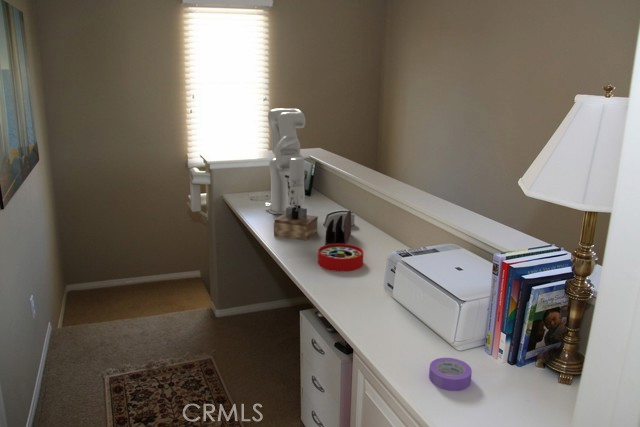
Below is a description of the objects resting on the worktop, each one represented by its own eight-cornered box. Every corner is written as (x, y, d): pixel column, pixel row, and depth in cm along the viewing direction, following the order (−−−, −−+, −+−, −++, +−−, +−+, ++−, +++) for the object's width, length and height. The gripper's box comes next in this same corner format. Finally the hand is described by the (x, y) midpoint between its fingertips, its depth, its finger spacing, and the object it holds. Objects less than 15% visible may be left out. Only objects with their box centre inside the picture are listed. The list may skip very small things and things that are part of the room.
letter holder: (351, 234, 287) (352, 208, 283) (345, 247, 268) (346, 219, 264) (331, 233, 289) (332, 206, 285) (324, 245, 270) (325, 217, 266)
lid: (274, 221, 281) (274, 209, 279) (285, 214, 293) (285, 203, 292) (307, 226, 275) (307, 213, 273) (317, 218, 287) (318, 207, 286)
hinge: (351, 222, 307) (354, 207, 302) (354, 227, 304) (357, 212, 298) (322, 224, 302) (324, 209, 297) (325, 229, 299) (327, 214, 293)
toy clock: (371, 255, 240) (328, 261, 233) (370, 268, 242) (328, 274, 235) (351, 241, 258) (311, 246, 251) (351, 253, 260) (311, 258, 253)
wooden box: (273, 235, 282) (273, 222, 280) (285, 228, 295) (285, 215, 293) (307, 240, 276) (307, 226, 274) (317, 232, 289) (317, 219, 287)
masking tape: (421, 381, 159) (422, 369, 158) (440, 364, 168) (441, 352, 167) (460, 396, 152) (461, 384, 151) (477, 378, 161) (478, 366, 160)
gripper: (297, 186, 270) (297, 222, 275) (309, 179, 285) (309, 214, 290) (283, 184, 272) (283, 221, 278) (296, 178, 287) (295, 212, 292)
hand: (296, 217), depth 284 cm, fingers closed on lid, 3 cm apart
